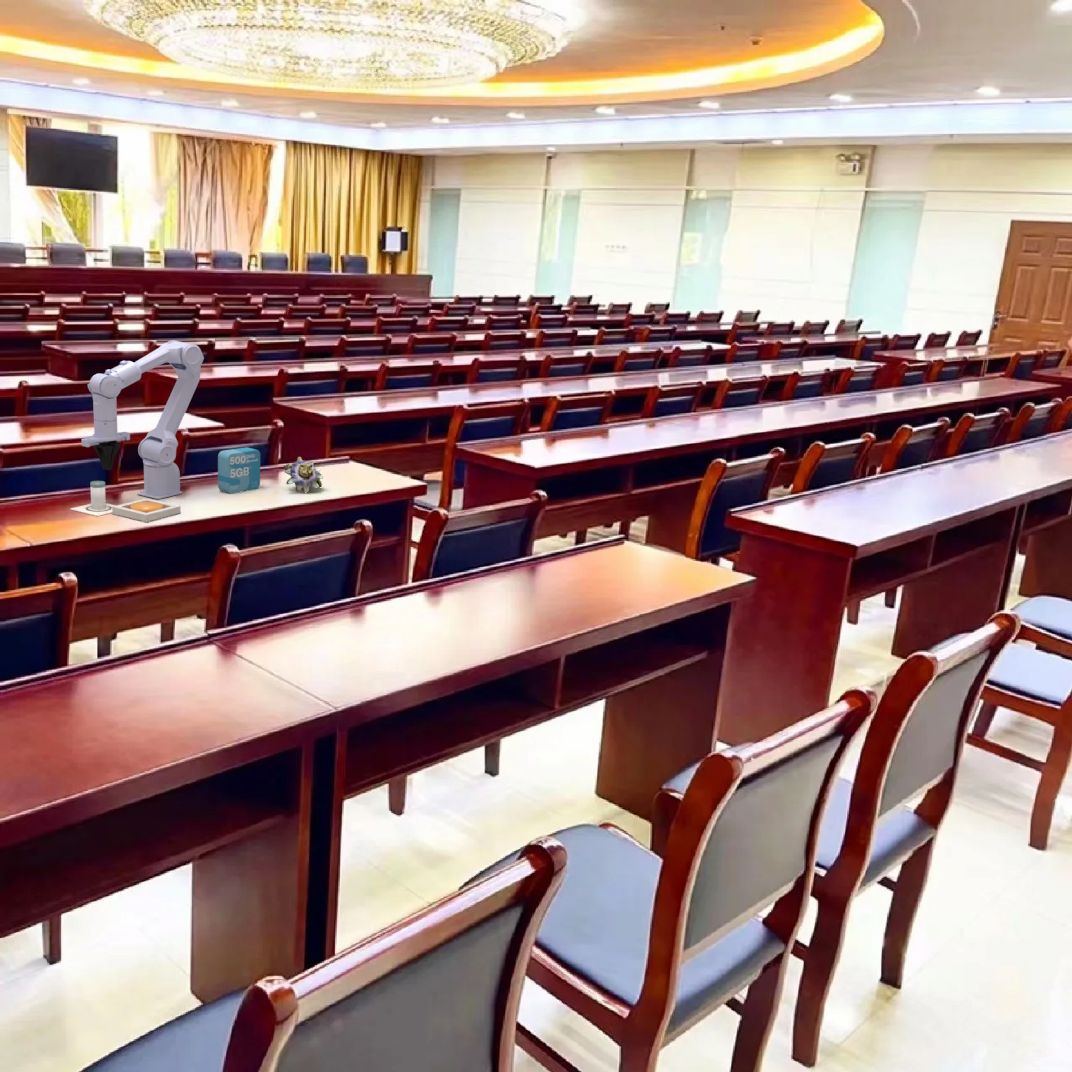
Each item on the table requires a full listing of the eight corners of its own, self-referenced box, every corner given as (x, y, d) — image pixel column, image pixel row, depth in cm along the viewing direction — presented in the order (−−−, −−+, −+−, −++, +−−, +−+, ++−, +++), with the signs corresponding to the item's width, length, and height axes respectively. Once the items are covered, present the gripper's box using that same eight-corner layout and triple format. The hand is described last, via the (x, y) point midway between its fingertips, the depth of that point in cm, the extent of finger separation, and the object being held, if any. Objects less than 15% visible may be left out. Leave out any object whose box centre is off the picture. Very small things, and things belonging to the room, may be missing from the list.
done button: (146, 505, 281) (146, 499, 280) (169, 511, 278) (169, 505, 277) (123, 511, 274) (123, 505, 273) (146, 517, 271) (146, 511, 270)
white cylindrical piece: (99, 505, 279) (98, 480, 277) (108, 507, 277) (108, 482, 275) (88, 508, 275) (87, 482, 274) (98, 510, 274) (96, 484, 272)
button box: (147, 505, 284) (146, 498, 283) (180, 513, 279) (180, 506, 278) (112, 514, 273) (112, 506, 272) (146, 522, 268) (146, 515, 268)
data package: (227, 494, 301) (227, 454, 298) (217, 491, 304) (217, 451, 301) (260, 488, 311) (260, 449, 308) (250, 485, 313) (250, 446, 310)
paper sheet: (100, 502, 283) (100, 501, 283) (127, 508, 279) (127, 507, 279) (69, 509, 274) (69, 508, 274) (97, 516, 270) (97, 515, 270)
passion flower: (305, 510, 312) (288, 482, 303) (287, 495, 319) (270, 468, 310) (334, 487, 315) (319, 459, 307) (316, 473, 322) (300, 445, 314)
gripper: (115, 414, 284) (117, 462, 288) (72, 420, 272) (74, 471, 275) (135, 418, 281) (136, 466, 285) (91, 424, 269) (93, 475, 273)
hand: (107, 469), depth 280 cm, fingers closed
